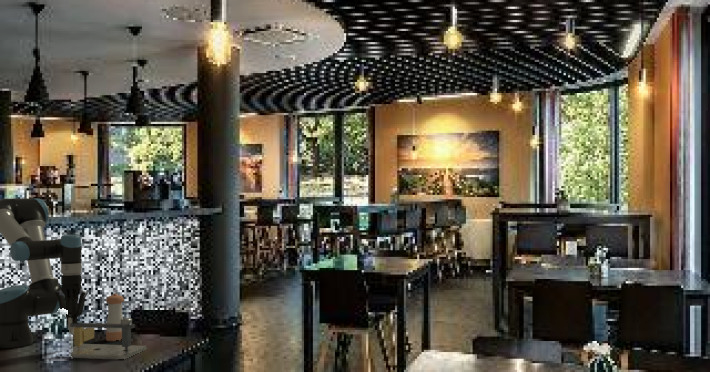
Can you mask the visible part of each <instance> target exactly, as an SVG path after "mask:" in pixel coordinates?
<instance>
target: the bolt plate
mask: <svg viewBox="0 0 710 372" xmlns="http://www.w3.org/2000/svg"><path fill="white" fill-rule="evenodd" d="M146 349H147V350H148V346H147V345H133V344H131V346H129V347H128V349H125V347H122V344H102V343H101V344H100V343H98V344H97V343H96V344H95V343H83V344H82V345H80V348H77V345H73V352H72V353H71V356H72V357H74V358H73V359H91V360H92V359H95V360H96V359H99V360H118V359H124V360H123V361H125V359H126V360H128V359H130V358H132V357H134V356H136V355H135V354H137V353H139V354H141V353H143V352H145V351H147V350H146ZM144 350H145V351H144ZM142 351H143V352H142ZM140 352H141V353H140ZM133 355H134V356H133ZM137 355H138V354H137ZM131 356H132V357H131ZM129 357H130V358H129ZM127 358H128V359H127Z"/></svg>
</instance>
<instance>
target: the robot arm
mask: <svg viewBox="0 0 710 372" xmlns="http://www.w3.org/2000/svg"><path fill="white" fill-rule="evenodd" d="M49 213H50V212H49V208H48V205H47V203H46V201H45V200H43V199H41V198H35V197H29V198H2V199H0V234H1V236H2V237H3V238H4V239H5V241H6V242H7V243H8V244H9V247H10V248H9V254H10V258H11V260H12V261H14V262H26V261H27V266H28V269H29V275H30V280H31V282H30V283H29V284H28V285H27V284H20V285H13V286H9V287H5V288H1V289H0V349H12V348H14V349H15V348H21V347H25V346H28V345H32V344H33V343H34V336H33V334H32V331H31V328H30V326H29V317H35V316H42V315H43V316H44V315H52V314H56V313H58V312H57V311H58V309H59V308H60V309H62V308H64V309H66V310H68V315H67V314H66V317H65V318H66V326H67V325H68V326H67V328H68V329H67V330H69V332H70V333H71V334H72V335H71V336H74V328H75V327H70V323H78V318H79V317H80V316H82V315H83V312H84V306H85V302H86V297H87V296H88V295H89V294H88V293H89V292H88V291H85V290H84V289H83V286H82V283H83V282H82V281H83V280H82V274H81V273H82V272H83V271H82V267H83V266H82V238H81V235H79V234H65V235H61V237H60V238H53V239H46V238H45V236H46V235H45V233H44V228H45V226H46V225H47V224H46V223H48V222H49V218H50V217H49V216H50V215H49ZM51 259H60V272H61V276H60V283H59V279H58V278H56V277H54V273H53V269H52V265H51Z"/></svg>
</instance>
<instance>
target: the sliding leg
mask: <svg viewBox="0 0 710 372" xmlns="http://www.w3.org/2000/svg"><path fill="white" fill-rule="evenodd" d="M92 339H95V327H75V328H74V334H73V346H77V348H80V345H82V344H84V342H88V341H89V340H92Z"/></svg>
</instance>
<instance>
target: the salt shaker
mask: <svg viewBox="0 0 710 372" xmlns="http://www.w3.org/2000/svg"><path fill="white" fill-rule="evenodd" d="M124 301H125V298H124V296H122V295H120V294H117V293H116V292H114V293H113V294H112V295H109V296H107V298H106V299H105V302H106V303H107V319H106V323H108V324H121V319H124V317H123V303H124ZM121 339H122V328H106V332H105V341H107V342H117V341H116V340H119V341H122V340H121Z"/></svg>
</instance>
